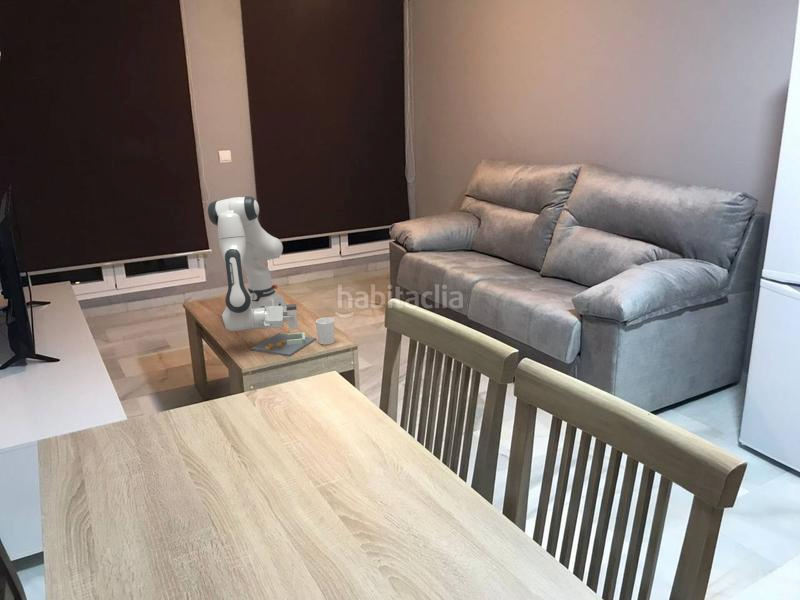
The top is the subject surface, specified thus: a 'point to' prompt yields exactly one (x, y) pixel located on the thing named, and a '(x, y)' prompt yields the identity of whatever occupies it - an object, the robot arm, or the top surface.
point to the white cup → (325, 330)
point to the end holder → (296, 341)
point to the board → (281, 345)
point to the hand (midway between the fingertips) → (294, 315)
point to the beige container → (293, 311)
